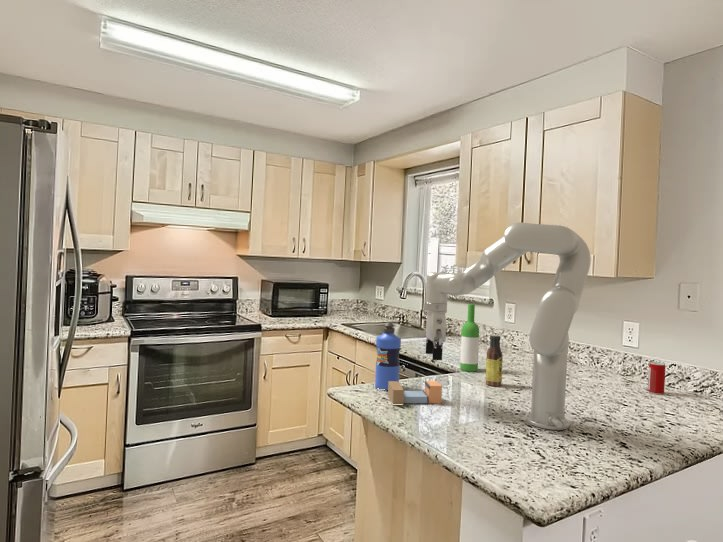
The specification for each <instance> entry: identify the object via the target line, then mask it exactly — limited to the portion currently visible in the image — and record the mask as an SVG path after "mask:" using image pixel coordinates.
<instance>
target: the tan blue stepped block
mask: <svg viewBox="0 0 723 542" xmlns="http://www.w3.org/2000/svg"><path fill="white" fill-rule="evenodd" d="M388 396H389V397H388ZM387 397H388V399H389V398H390V399H389V401H390V400H391V401H390V403H391V402H392V403H393V404H403V405H405V404H404V403H428V395H427V394H426V393H425V390H405V389H404V388H403V387H402V385H401V383H400V381H399V382H398V381H388V391H387ZM392 403H391V404H392ZM428 404H429V403H428Z"/></svg>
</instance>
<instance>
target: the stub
mask: <svg viewBox="0 0 723 542" xmlns="http://www.w3.org/2000/svg"><path fill="white" fill-rule="evenodd" d="M442 386H443V385H442V384H441V383H439V381H436V380H431V381H430V380H424V392H425V393H426V394H427V395H428V402H429V403H428V404H442V395H443V394H442V392H443V391H442V389H443V387H442Z"/></svg>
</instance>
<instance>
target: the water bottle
mask: <svg viewBox="0 0 723 542" xmlns="http://www.w3.org/2000/svg"><path fill="white" fill-rule="evenodd" d="M383 325H384V327H383V330H382V331H383V333H382V334H380V335H378V336H376V337H375V338H376V340H375V346H376V355H377V356H376V363H375V373H374V375H375V377H374V378H375V379H374V387H376V388H379V389H385V390H388V381H398V382H399V383H400V358H399V357H400V351H401V347H402V345H401V344H402V342H401V341H402V338H401V337H399V336H398V335H396V334H395V328H396V327H395V325H394V324H393V322H391V321H386V322H385V323H384V324H383ZM394 327H395V328H394ZM376 388H375V389H376Z"/></svg>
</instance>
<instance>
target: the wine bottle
mask: <svg viewBox="0 0 723 542" xmlns="http://www.w3.org/2000/svg"><path fill="white" fill-rule="evenodd" d="M475 308H476V304H474V303H468V304H467V320H466V322H465V323H464V324H463V325H462V327H461V336H460V337H461V338H460V340H461V341H460V363H459V364H460V365H459V368H460V370H462V371H463V372H468V373H470V372H471V373H472V372H473V373H474V372H477V371H478V369H479V351H480V350H479V348H480V347H479V345H480V343H479V342H480V328H479V325H478V323H476V322H475V312H476V311H475Z"/></svg>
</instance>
